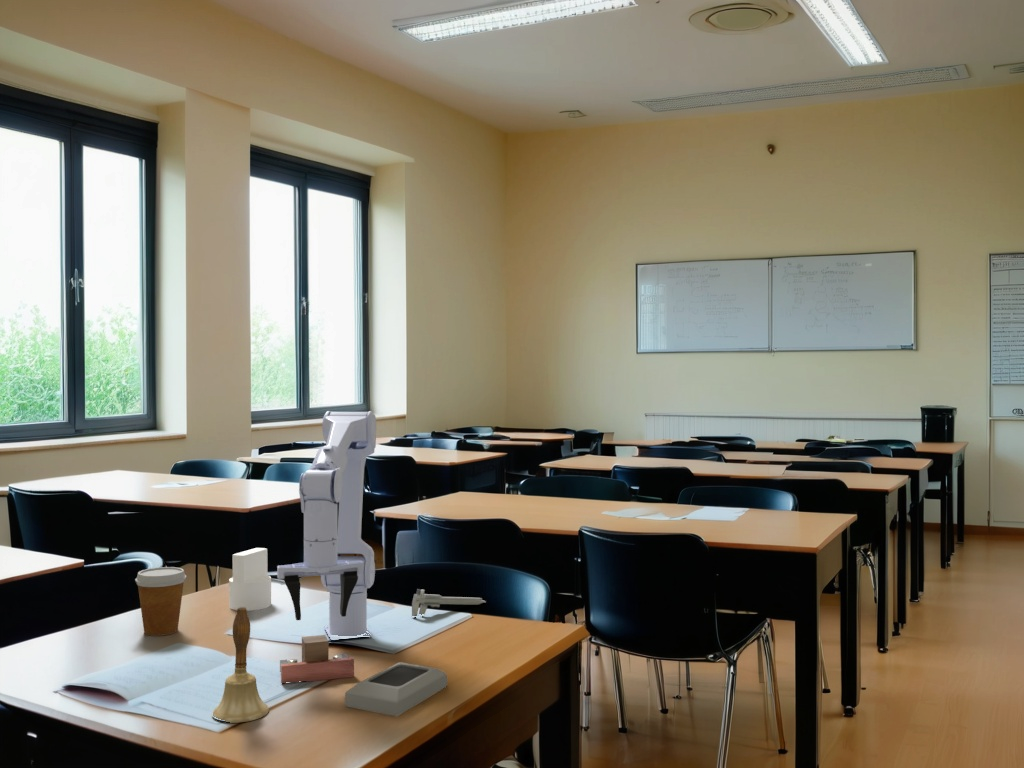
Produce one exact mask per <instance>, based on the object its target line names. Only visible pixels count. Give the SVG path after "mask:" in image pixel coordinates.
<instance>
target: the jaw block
mask: <svg viewBox="0 0 1024 768" xmlns="http://www.w3.org/2000/svg"><path fill="white" fill-rule="evenodd" d="M326 635H327V634H319V635H309V636H301V662H308V661H319V660H329V655H330V654H329V649H330V647H329V641H330V640H329V638H327V637H328V636H326Z"/></svg>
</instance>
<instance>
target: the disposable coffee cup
mask: <svg viewBox="0 0 1024 768" xmlns="http://www.w3.org/2000/svg"><path fill="white" fill-rule="evenodd" d="M186 578H187V575H186V574H185V570H184V569H183V568H181V567H175V566H164V567H163V566H161V567H151V568H147V569H142V570H139V571H138V572H137V576H136V578H135V579H134V581H135V583H136V585H137V588H138V594H139V595H138V596H139V597H138V598H139V605H140V610H141V611H140V612H141V619H142V624H143V634H145V635H148V636H151V637H152V636H154V637H155V636H166V635H167V636H168V635H171V634H174V633H177V632H178V630H179V622H180V617H181V616H180V614H181V606H182V598H183V590H184V583H185V581H186Z"/></svg>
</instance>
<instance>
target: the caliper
mask: <svg viewBox="0 0 1024 768" xmlns="http://www.w3.org/2000/svg"><path fill="white" fill-rule="evenodd" d="M425 591H426V590H425V589H420V588H417V589H416V593H414V594H413V598H412V601H411V617H412V616H417V617H418V615H419V614H421V615H422V614H424V615H425V613H426V611H427V609H428V607H430V608H433V609H434V608H438V609H439V608H440V607H441V605H466V606H467V605H469V606H471V605H472V606H474V605H475V606H477V605H481V604H483V603H484V604H485V603H487V601H486V600H483V598H482V597H472V596H471V597H469V596H468V597H467V596H466V597H465V596H464V597H463V596H442V595H440V594H434V593H433V594H431V593H430V594H428V593H425Z"/></svg>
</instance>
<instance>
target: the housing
mask: <svg viewBox="0 0 1024 768" xmlns="http://www.w3.org/2000/svg"><path fill="white" fill-rule="evenodd" d="M280 672H281V674H280V684H281V683H286V682H299V681H307V682H308V681H309V682H317V681H327V680H335V679H346V678H354V677H355V658H354V656H353V657H352V656H351V657H350V656H349V657H348V655H347V653H342V654H335V655H333V656H332V658H331V659H329V660H319V661H308V662H302V661H299V662H298V659H296V658H292V659H291V658H290V659H280V660H279V673H280ZM307 682H306V683H307ZM299 683H300V682H299Z"/></svg>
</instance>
